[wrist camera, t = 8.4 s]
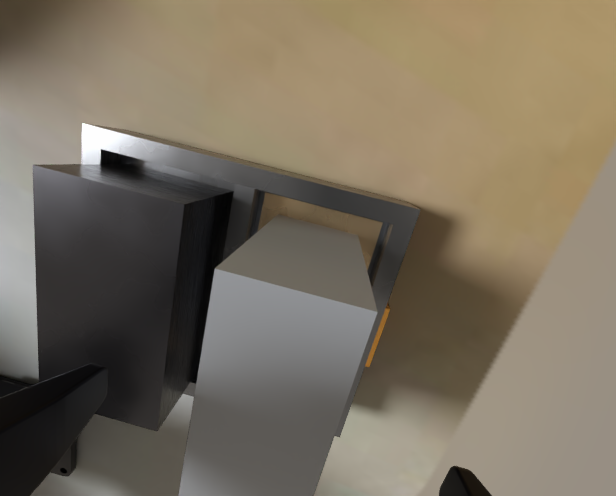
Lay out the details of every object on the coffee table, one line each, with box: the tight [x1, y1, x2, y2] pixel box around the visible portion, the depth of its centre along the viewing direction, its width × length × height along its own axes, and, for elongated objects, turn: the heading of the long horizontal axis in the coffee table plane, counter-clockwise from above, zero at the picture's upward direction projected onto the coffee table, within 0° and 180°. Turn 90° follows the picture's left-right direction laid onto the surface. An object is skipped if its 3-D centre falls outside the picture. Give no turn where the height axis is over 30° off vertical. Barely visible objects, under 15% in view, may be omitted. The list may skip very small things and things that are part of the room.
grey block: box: [178, 214, 378, 496], centre depth 11 cm, size 8×4×7 cm, turn 166°
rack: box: [33, 123, 420, 437], centre depth 13 cm, size 12×14×6 cm
